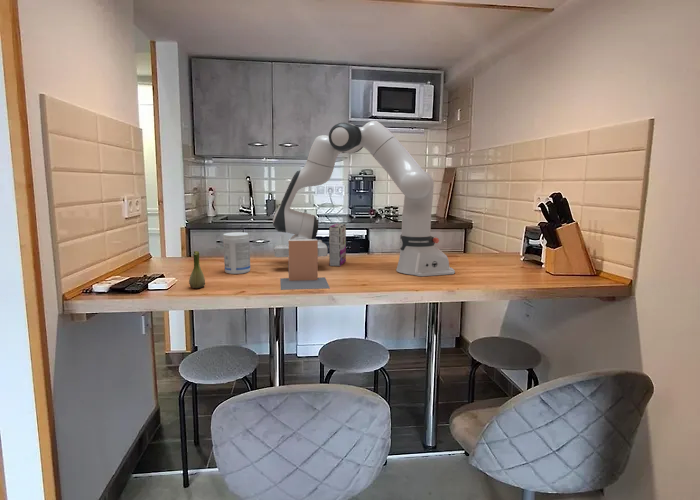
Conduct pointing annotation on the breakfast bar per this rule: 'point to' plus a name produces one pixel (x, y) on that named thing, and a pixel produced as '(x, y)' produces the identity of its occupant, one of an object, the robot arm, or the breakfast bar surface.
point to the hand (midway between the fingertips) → (302, 254)
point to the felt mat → (304, 284)
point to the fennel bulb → (196, 273)
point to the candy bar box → (337, 244)
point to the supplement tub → (236, 252)
